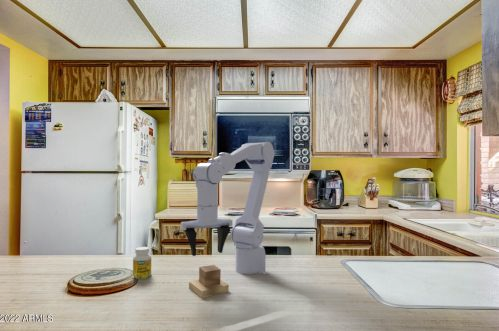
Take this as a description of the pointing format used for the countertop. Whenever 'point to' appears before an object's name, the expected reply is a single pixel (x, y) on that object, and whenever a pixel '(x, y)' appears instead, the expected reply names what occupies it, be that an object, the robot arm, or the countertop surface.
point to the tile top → (208, 288)
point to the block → (209, 275)
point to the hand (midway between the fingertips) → (207, 253)
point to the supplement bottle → (142, 263)
